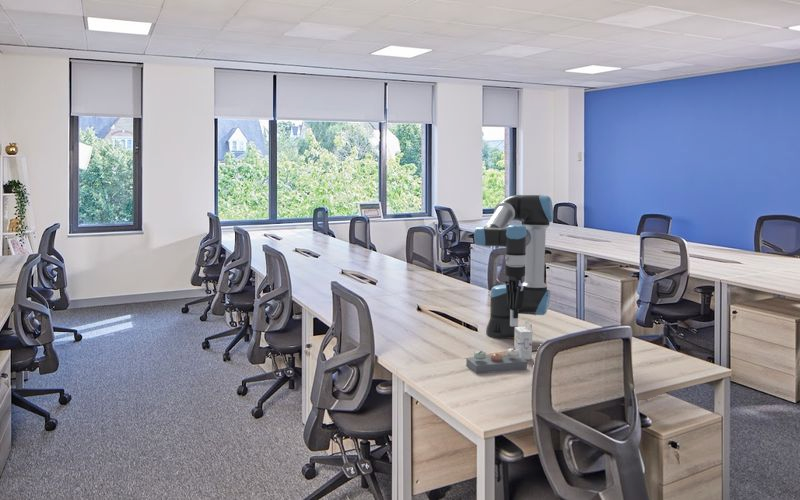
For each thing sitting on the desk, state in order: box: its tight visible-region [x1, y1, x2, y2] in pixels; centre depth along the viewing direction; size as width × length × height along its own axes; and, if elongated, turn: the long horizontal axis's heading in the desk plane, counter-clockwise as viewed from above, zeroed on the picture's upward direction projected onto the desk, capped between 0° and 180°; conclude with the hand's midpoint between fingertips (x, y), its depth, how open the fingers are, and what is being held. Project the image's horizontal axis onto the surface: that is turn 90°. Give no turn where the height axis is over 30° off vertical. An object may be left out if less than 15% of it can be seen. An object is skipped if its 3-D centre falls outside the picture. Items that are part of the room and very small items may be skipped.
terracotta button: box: [490, 352, 503, 361], centre depth 245 cm, size 4×4×2 cm
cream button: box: [507, 348, 519, 357], centre depth 247 cm, size 4×4×2 cm
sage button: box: [473, 350, 487, 360], centre depth 243 cm, size 4×4×2 cm
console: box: [465, 354, 528, 374], centre depth 245 cm, size 21×10×3 cm, turn 105°
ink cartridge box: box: [513, 319, 533, 361], centre depth 259 cm, size 9×5×15 cm, turn 9°
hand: (513, 325), depth 245 cm, fingers closed
